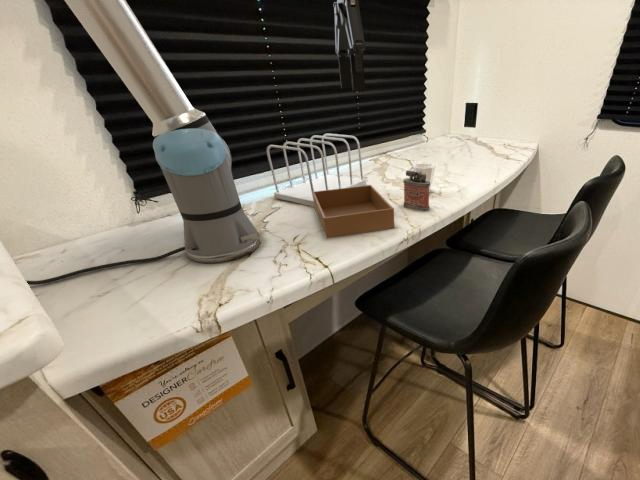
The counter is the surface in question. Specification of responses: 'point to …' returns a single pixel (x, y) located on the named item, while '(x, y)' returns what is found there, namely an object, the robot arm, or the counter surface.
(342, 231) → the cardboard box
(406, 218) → the counter surface
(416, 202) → the lighter
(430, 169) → the cup
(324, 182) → the file sorter
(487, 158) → the counter surface
